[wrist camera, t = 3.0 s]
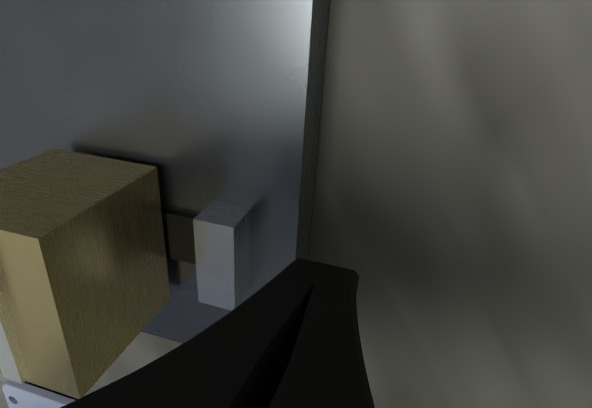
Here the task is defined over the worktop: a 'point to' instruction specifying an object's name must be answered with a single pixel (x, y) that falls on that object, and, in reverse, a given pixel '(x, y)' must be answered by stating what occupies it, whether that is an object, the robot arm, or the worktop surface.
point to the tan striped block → (77, 266)
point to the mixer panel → (181, 125)
